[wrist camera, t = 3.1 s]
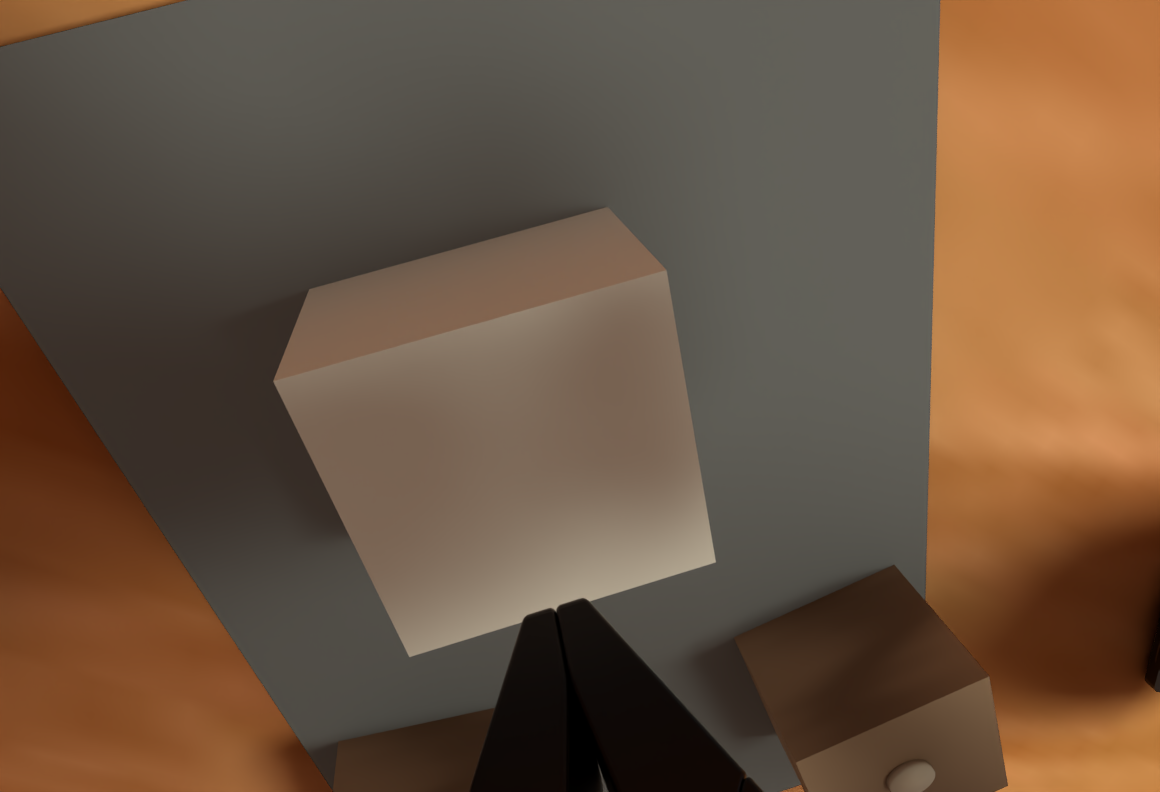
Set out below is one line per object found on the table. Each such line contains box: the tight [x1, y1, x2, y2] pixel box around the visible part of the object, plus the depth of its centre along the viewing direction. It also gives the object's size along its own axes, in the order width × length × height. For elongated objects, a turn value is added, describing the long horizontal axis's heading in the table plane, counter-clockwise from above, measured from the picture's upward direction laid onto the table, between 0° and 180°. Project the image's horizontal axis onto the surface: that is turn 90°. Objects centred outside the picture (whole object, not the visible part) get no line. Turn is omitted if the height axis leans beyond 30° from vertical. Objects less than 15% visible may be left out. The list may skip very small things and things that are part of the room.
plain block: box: [273, 207, 716, 657], centre depth 14 cm, size 6×6×4 cm
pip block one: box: [734, 565, 1008, 792], centre depth 20 cm, size 5×5×4 cm
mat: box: [0, 0, 940, 792], centre depth 18 cm, size 18×26×1 cm
